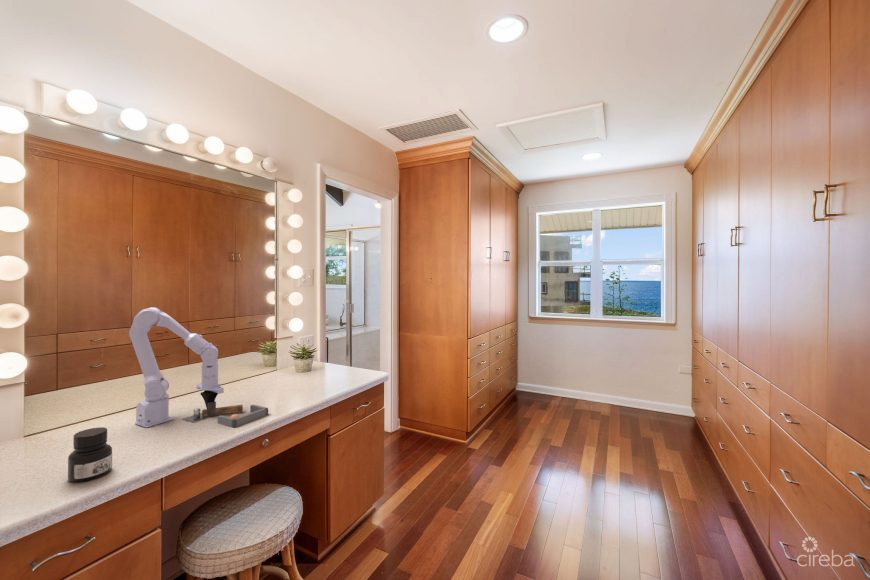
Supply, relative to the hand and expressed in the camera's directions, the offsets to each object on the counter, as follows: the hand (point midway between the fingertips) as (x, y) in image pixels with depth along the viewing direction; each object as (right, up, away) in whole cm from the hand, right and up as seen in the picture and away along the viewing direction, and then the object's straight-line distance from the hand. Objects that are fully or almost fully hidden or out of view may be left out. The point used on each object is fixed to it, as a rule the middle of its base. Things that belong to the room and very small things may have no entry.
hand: (209, 408), depth 147 cm
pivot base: (-2, -2, -5) cm, 6 cm away
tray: (+17, -3, -5) cm, 17 cm away
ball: (+15, -1, -9) cm, 18 cm away
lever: (+6, -2, -1) cm, 6 cm away
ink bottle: (-4, -3, -47) cm, 47 cm away
